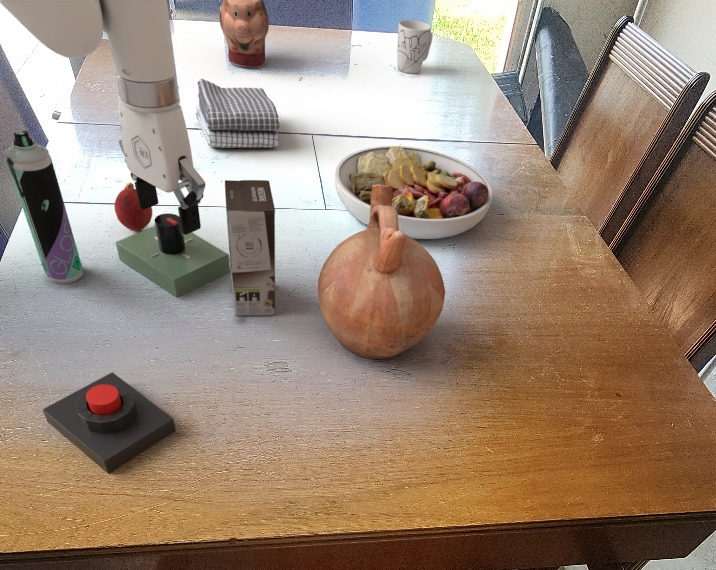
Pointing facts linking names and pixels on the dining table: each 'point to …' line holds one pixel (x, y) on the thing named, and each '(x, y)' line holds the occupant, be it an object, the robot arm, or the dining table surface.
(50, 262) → the spray can
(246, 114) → the towel
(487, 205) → the bowl
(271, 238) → the coffee box
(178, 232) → the dial
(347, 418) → the dining table surface
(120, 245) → the dial panel
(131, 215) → the red oval fruit
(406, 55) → the mug
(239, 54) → the pig figurine
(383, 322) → the jug
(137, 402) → the button block
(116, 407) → the button
